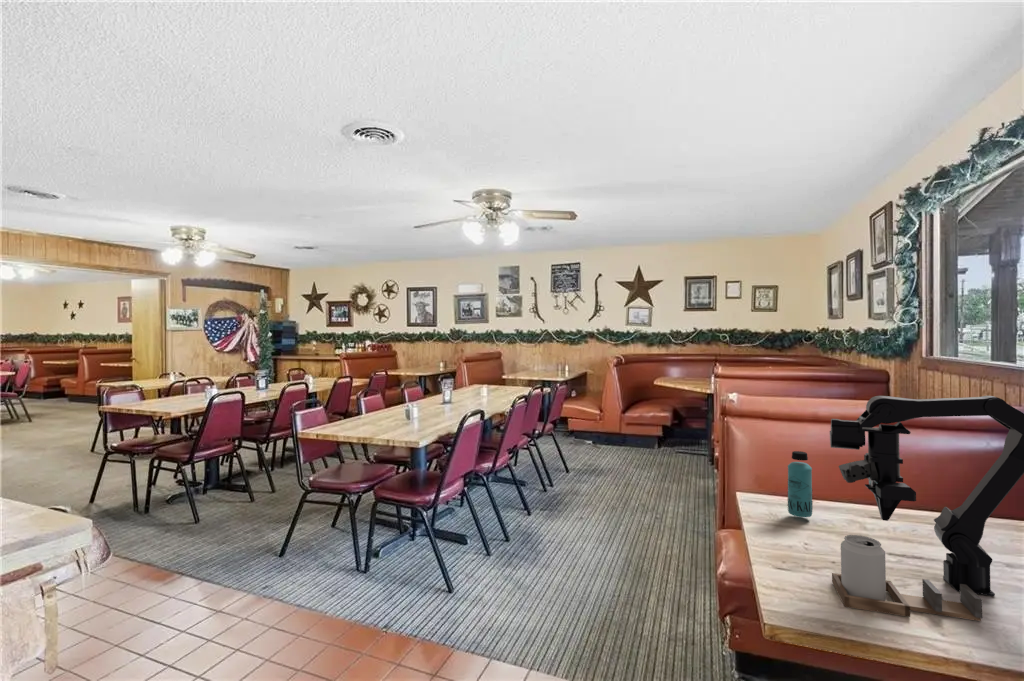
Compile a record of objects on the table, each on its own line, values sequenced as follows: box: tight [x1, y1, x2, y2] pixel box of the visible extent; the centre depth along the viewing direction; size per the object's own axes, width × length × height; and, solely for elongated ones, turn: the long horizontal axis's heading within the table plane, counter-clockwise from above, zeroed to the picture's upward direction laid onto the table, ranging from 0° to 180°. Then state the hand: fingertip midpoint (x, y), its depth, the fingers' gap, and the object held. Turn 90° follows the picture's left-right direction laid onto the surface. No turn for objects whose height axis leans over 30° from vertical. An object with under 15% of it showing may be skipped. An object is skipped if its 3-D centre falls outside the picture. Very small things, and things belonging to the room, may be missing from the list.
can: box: [840, 534, 887, 601], centre depth 101 cm, size 8×8×12 cm
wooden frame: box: [831, 572, 983, 622], centre depth 98 cm, size 22×11×4 cm, turn 68°
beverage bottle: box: [786, 450, 814, 518], centre depth 146 cm, size 6×7×20 cm
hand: (884, 520), depth 112 cm, fingers closed
